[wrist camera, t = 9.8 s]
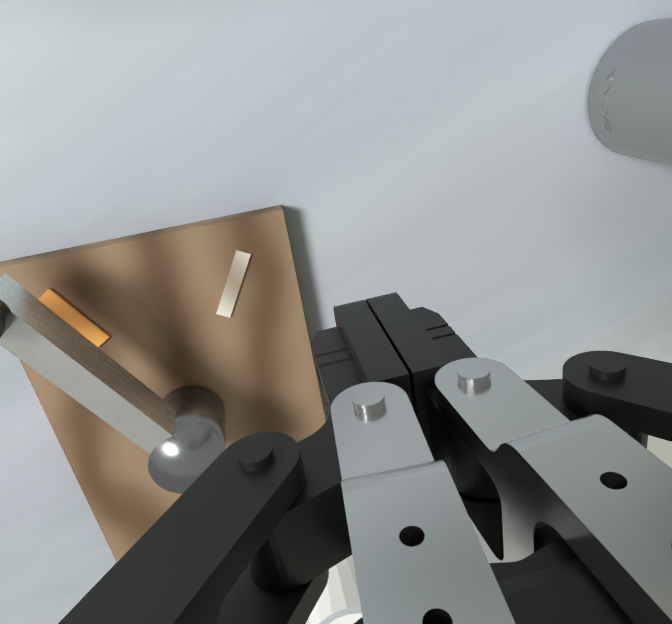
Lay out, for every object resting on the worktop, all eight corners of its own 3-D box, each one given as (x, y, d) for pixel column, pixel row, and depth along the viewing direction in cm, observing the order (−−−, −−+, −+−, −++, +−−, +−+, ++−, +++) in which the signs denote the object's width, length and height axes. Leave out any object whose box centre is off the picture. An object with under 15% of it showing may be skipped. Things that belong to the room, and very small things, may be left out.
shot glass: (304, 600, 54) (314, 669, 48) (297, 552, 51) (307, 618, 45) (369, 586, 55) (388, 651, 49) (366, 537, 52) (386, 600, 46)
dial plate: (280, 205, 38) (283, 210, 36) (340, 498, 50) (344, 511, 48) (-13, 264, 36) (-24, 273, 34) (123, 556, 48) (120, 572, 46)
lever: (238, 413, 42) (241, 482, 35) (191, 451, 42) (185, 527, 35) (35, 240, 34) (-15, 284, 27) (-19, 289, 34) (-83, 346, 27)
